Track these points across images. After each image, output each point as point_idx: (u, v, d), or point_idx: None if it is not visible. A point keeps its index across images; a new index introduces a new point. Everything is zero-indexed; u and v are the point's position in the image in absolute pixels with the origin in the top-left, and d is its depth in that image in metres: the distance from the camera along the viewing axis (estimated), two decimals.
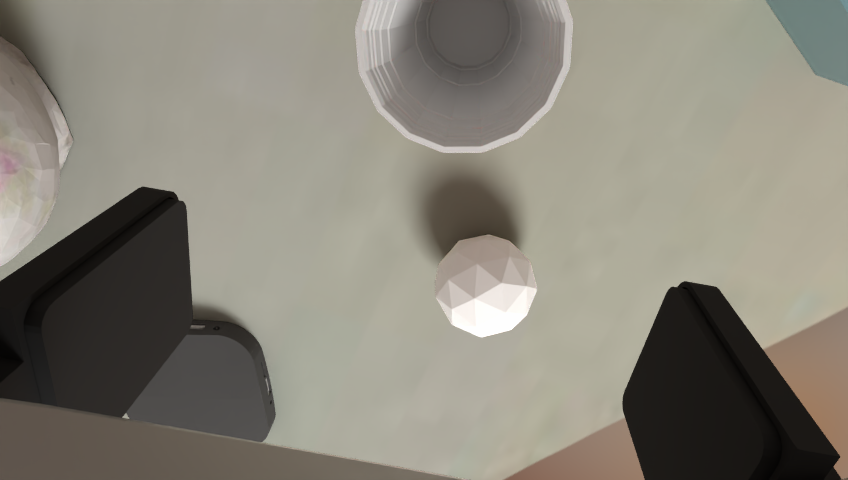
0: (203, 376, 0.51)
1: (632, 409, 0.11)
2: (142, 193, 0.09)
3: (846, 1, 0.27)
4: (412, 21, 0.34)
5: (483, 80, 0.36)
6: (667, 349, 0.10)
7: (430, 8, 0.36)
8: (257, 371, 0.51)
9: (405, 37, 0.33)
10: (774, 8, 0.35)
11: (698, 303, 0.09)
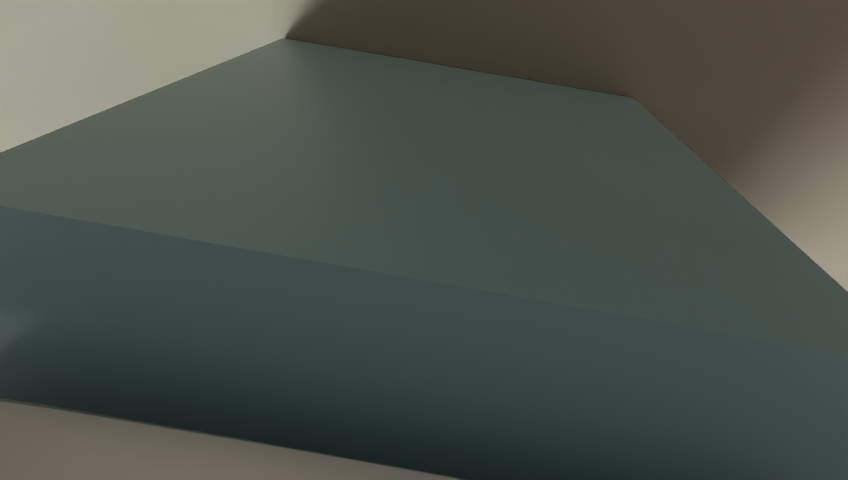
0: None
1: None
2: None
3: None
4: None
5: None
6: None
7: None
8: None
9: None
10: None
11: None
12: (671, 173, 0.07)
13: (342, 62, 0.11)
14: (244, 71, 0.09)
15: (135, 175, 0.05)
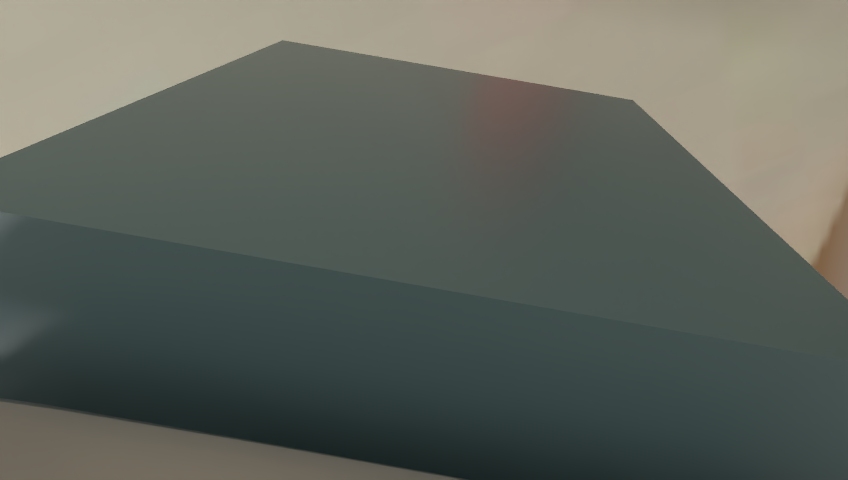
0: None
1: None
2: None
3: None
4: None
5: None
6: None
7: None
8: None
9: None
10: None
11: None
12: (669, 177, 0.07)
13: (341, 65, 0.11)
14: (244, 74, 0.09)
15: (135, 180, 0.05)
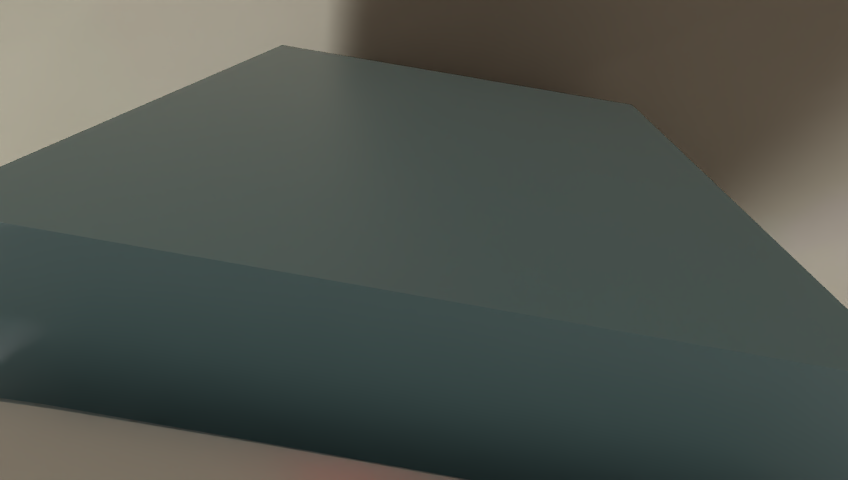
0: None
1: None
2: None
3: None
4: None
5: None
6: None
7: None
8: None
9: None
10: None
11: None
12: (668, 183, 0.07)
13: (341, 70, 0.11)
14: (243, 80, 0.09)
15: (134, 189, 0.05)
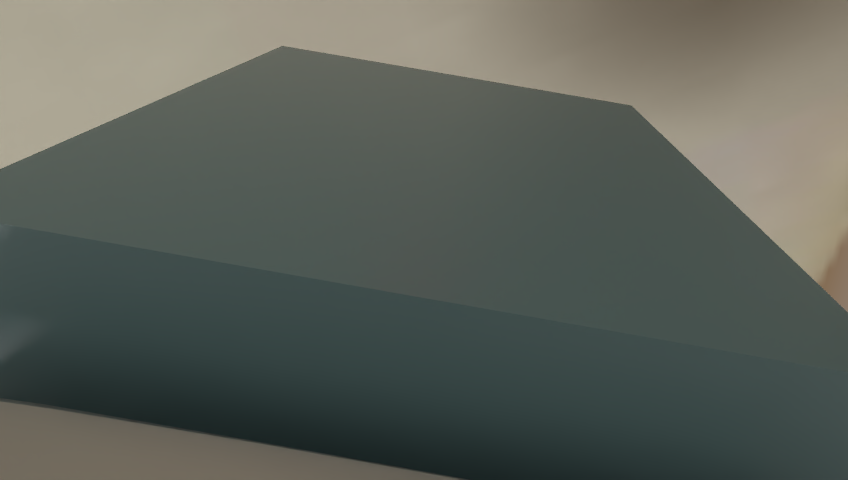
0: None
1: None
2: None
3: None
4: None
5: None
6: None
7: None
8: None
9: None
10: None
11: None
12: (667, 184, 0.07)
13: (341, 70, 0.11)
14: (243, 81, 0.09)
15: (134, 191, 0.05)
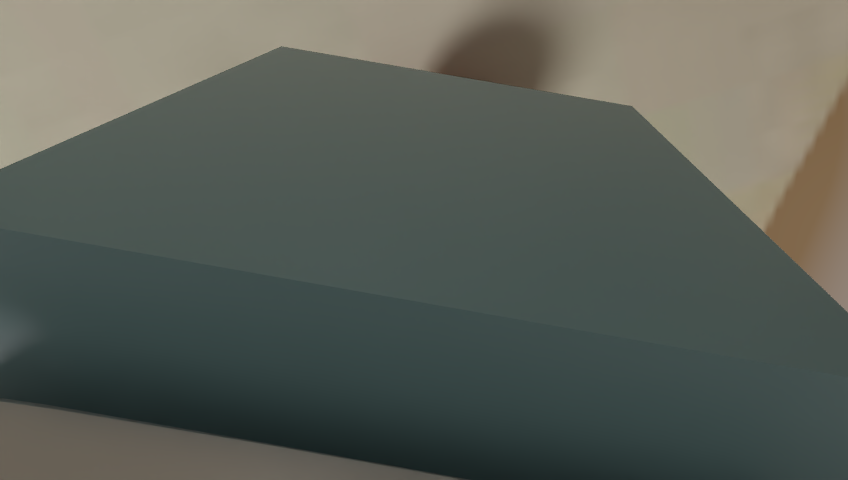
0: None
1: None
2: None
3: None
4: None
5: None
6: None
7: None
8: None
9: None
10: None
11: None
12: (669, 186, 0.07)
13: (340, 71, 0.11)
14: (242, 82, 0.09)
15: (131, 194, 0.05)
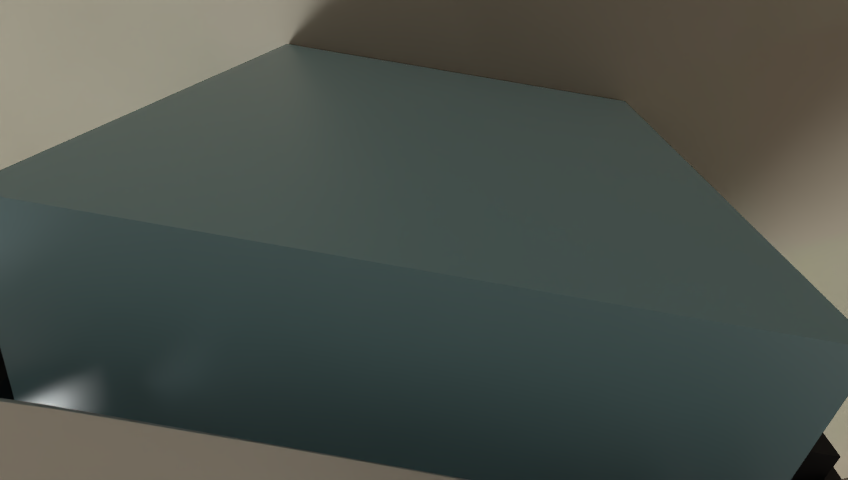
0: None
1: None
2: None
3: (2, 274, 0.05)
4: None
5: None
6: None
7: None
8: None
9: None
10: None
11: None
12: (655, 173, 0.08)
13: (344, 67, 0.11)
14: (251, 77, 0.09)
15: (156, 176, 0.05)
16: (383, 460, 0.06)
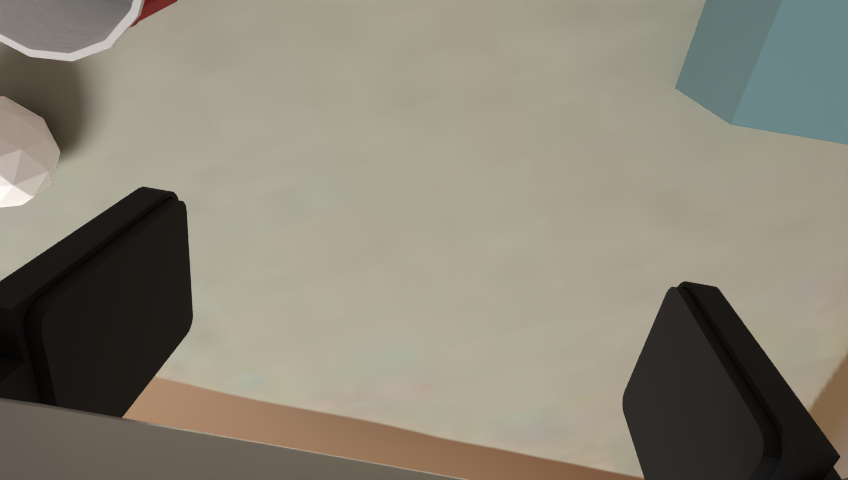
0: None
1: (632, 410, 0.11)
2: (142, 193, 0.09)
3: None
4: None
5: None
6: (667, 349, 0.10)
7: None
8: None
9: None
10: None
11: (698, 303, 0.09)
12: None
13: None
14: None
15: None
16: None
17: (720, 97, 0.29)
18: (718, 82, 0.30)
